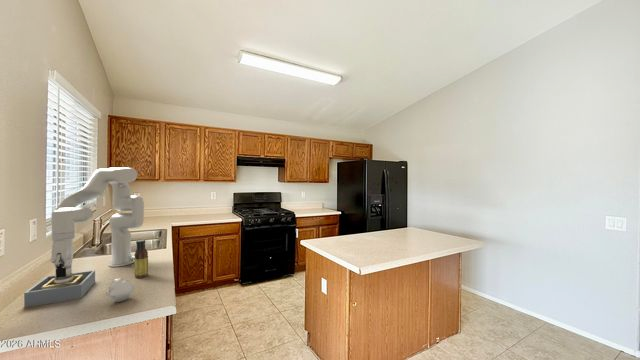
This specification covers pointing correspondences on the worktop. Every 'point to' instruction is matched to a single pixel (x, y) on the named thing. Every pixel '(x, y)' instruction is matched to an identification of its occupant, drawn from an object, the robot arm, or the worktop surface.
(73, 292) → the walled box
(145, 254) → the sauce bottle
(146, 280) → the worktop surface
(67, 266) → the plastic bottle
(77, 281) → the olive square tray
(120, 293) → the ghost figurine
